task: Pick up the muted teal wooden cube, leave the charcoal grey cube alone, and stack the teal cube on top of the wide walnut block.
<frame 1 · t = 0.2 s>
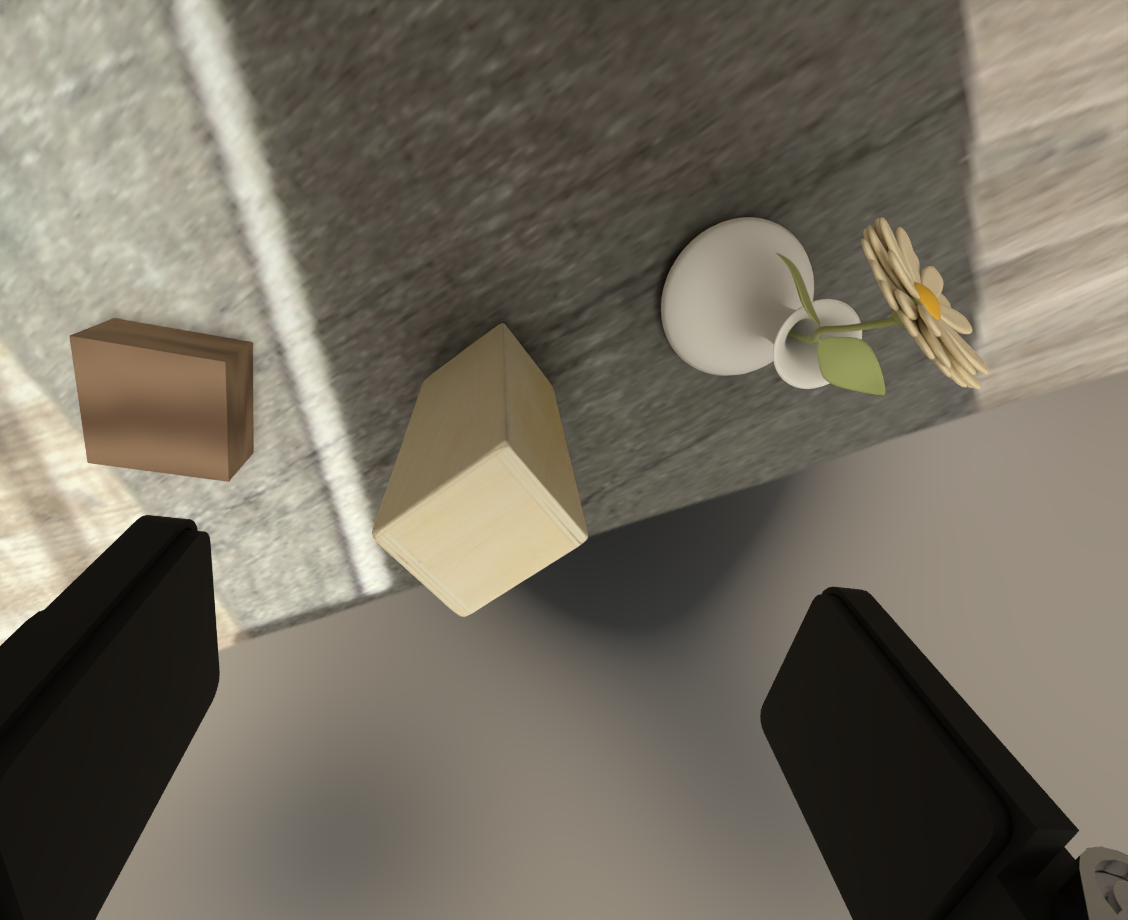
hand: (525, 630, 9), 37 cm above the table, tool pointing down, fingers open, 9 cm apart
flower in vase: (724, 286, 44), on the table
walnut block: (189, 388, 43), on the table
tall cream block: (491, 387, 46), on the table
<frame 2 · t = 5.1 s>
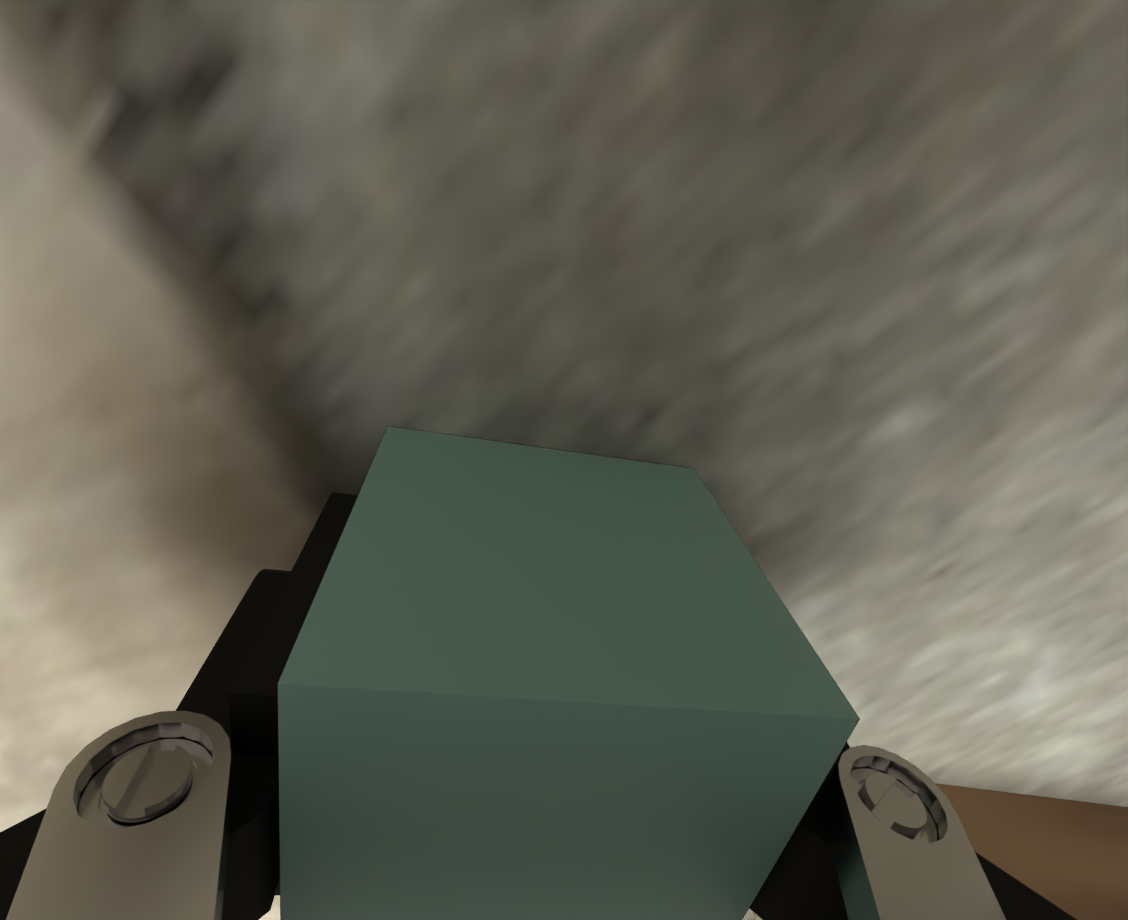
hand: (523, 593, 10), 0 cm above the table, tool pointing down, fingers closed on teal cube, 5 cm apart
teal cube: (522, 574, 10), on the table, touching gripper
walnut block: (932, 884, 17), on the table
when the fingers open (7 cm above the table, at t = 11.1 s): teal cube drops 2 cm, point 5 cm above the table.
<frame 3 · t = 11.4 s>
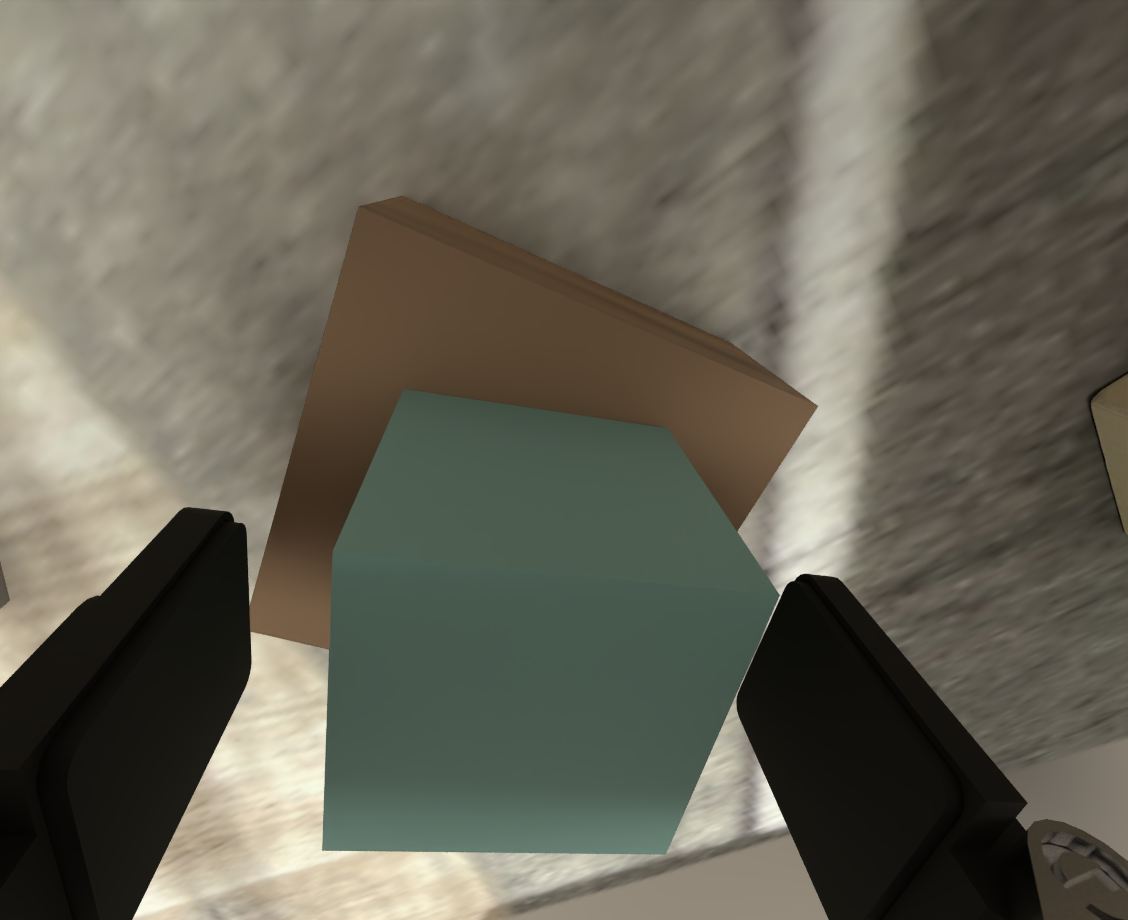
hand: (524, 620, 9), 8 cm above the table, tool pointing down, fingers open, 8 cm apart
teal cube: (519, 522, 12), point 5 cm above the table
walnut block: (513, 426, 16), on the table
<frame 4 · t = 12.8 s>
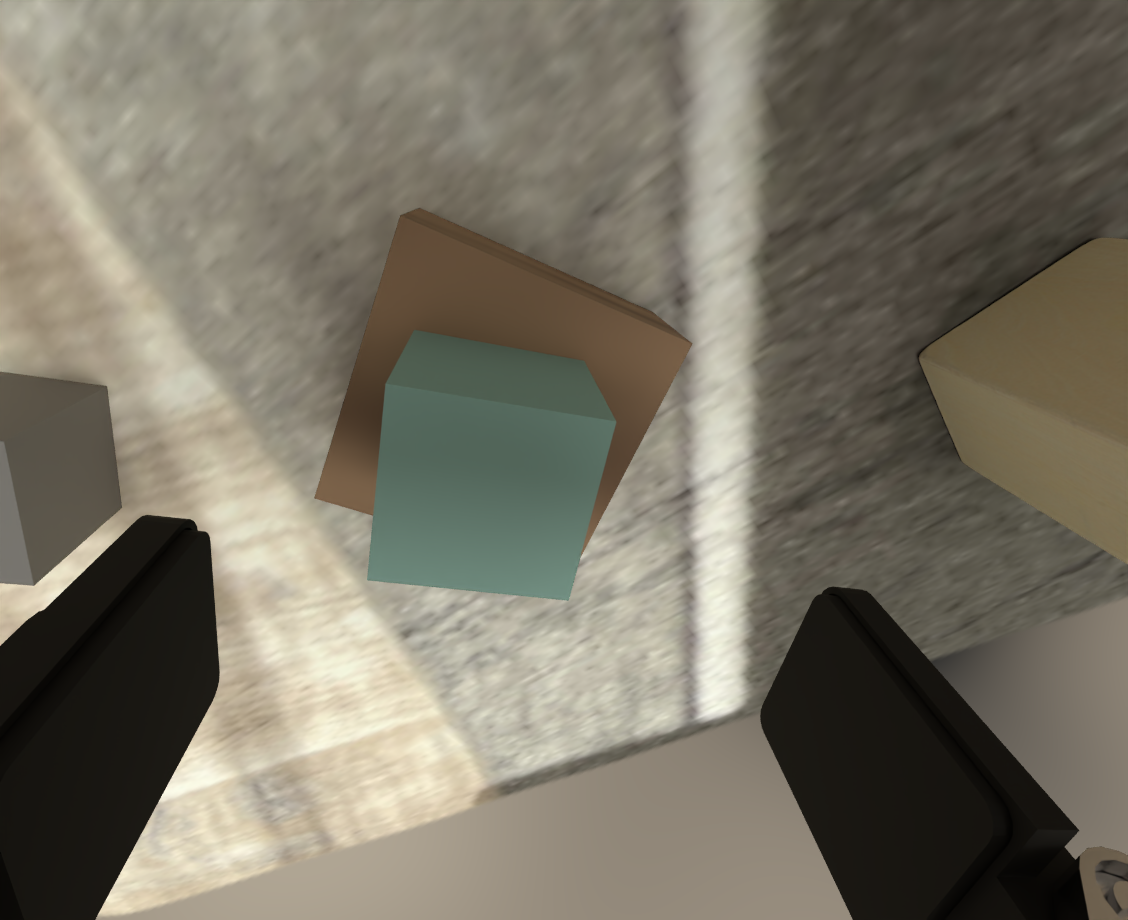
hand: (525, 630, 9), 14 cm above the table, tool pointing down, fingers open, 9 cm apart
grey cube: (39, 439, 21), on the table
teal cube: (488, 424, 18), point 5 cm above the table
walnut block: (497, 374, 22), on the table
tall cream block: (1018, 366, 25), on the table
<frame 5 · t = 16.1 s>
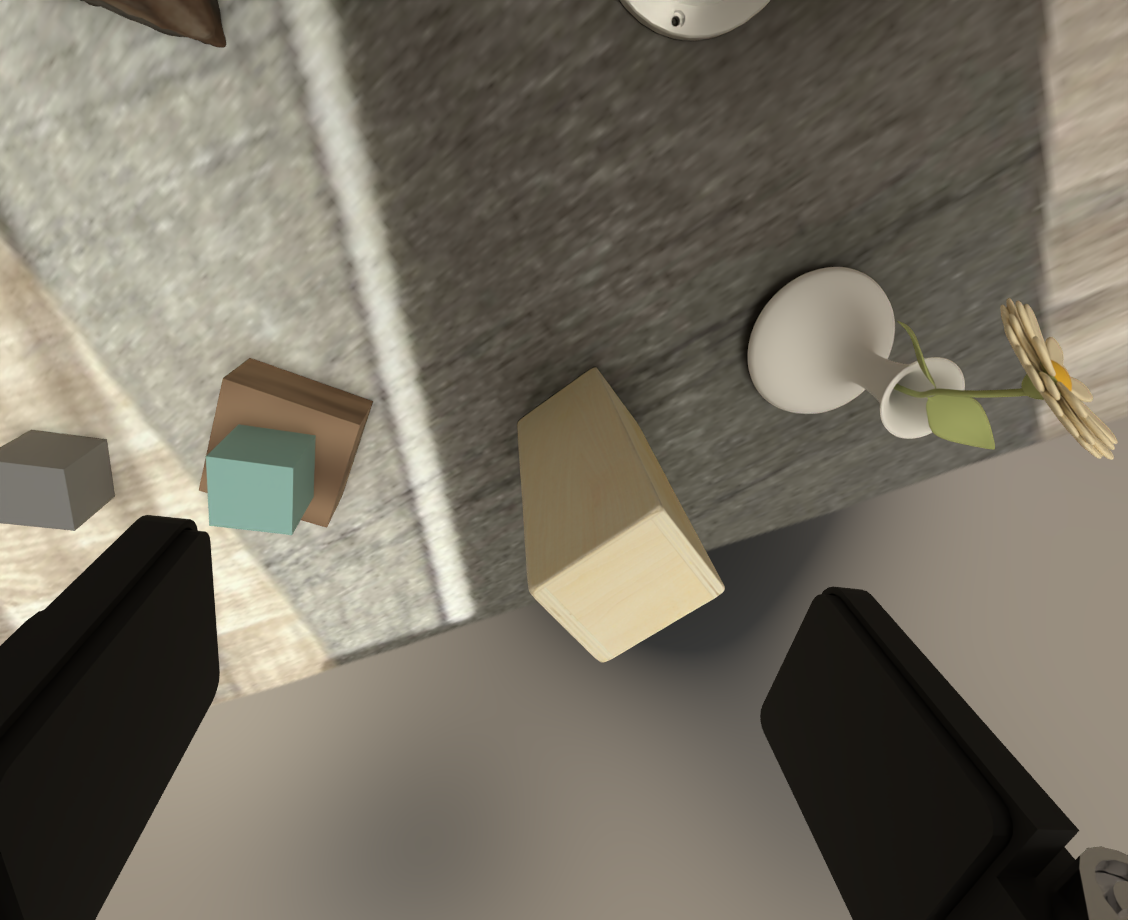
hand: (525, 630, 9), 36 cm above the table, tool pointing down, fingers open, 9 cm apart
flower in vase: (805, 328, 46), on the table
grey cube: (75, 463, 45), on the table
teal cube: (277, 461, 41), point 5 cm above the table, touching walnut block
walnut block: (300, 430, 45), on the table, touching teal cube
tall cream block: (579, 426, 48), on the table
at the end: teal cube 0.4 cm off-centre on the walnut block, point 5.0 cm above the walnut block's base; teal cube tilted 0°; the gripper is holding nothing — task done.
